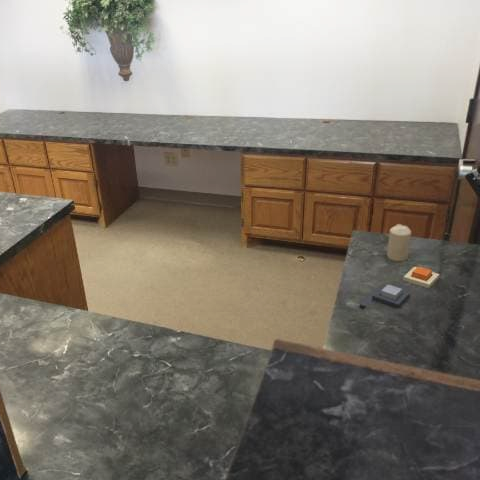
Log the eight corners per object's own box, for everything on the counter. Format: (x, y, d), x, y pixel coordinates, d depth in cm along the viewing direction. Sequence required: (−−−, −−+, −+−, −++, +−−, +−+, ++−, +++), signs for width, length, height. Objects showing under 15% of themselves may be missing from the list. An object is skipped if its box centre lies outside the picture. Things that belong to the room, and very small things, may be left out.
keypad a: (410, 270, 141) (412, 260, 140) (449, 281, 135) (451, 271, 133) (391, 288, 134) (392, 278, 133) (430, 301, 128) (432, 291, 126)
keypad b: (381, 287, 135) (382, 278, 134) (420, 300, 128) (422, 290, 127) (359, 307, 128) (360, 297, 127) (399, 322, 121) (400, 312, 120)
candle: (384, 253, 151) (387, 222, 147) (403, 251, 151) (407, 221, 146) (391, 262, 146) (394, 231, 142) (410, 260, 146) (415, 229, 141)
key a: (417, 271, 136) (418, 266, 135) (431, 275, 133) (432, 270, 132) (411, 277, 134) (412, 271, 133) (425, 281, 131) (426, 275, 130)
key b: (387, 290, 130) (388, 284, 129) (401, 294, 127) (402, 288, 126) (380, 296, 127) (381, 290, 127) (394, 301, 125) (395, 295, 124)
